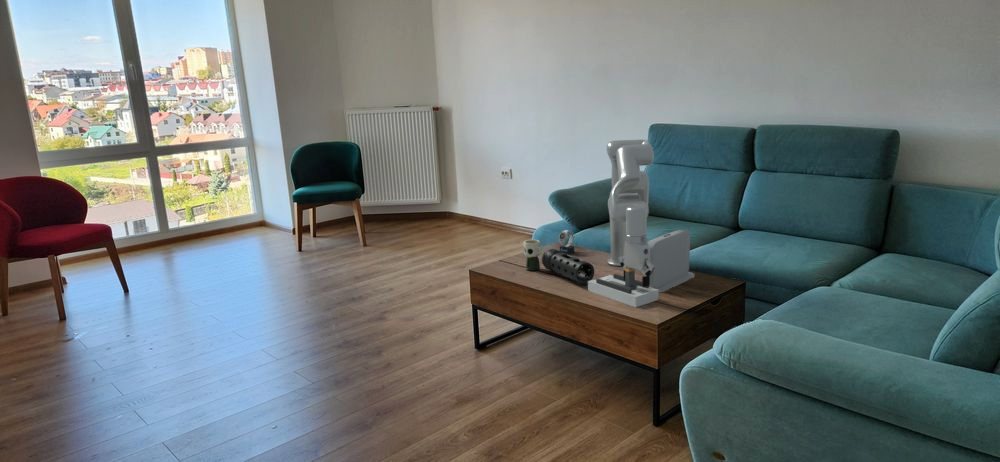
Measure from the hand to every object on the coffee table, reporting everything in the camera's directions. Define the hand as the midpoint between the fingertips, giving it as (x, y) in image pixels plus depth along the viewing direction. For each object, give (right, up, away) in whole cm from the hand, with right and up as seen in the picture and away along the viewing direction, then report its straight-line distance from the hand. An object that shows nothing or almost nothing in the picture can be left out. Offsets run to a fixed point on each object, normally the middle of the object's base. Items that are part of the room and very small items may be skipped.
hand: (636, 282), depth 249 cm
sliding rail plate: (-4, -1, +7) cm, 8 cm away
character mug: (-36, +2, +48) cm, 60 cm away
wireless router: (+17, -2, +20) cm, 27 cm away
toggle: (-2, -2, +3) cm, 4 cm away
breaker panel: (-4, -5, +8) cm, 10 cm away
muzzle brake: (-23, -1, +33) cm, 40 cm away
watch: (-19, +9, +72) cm, 75 cm away
